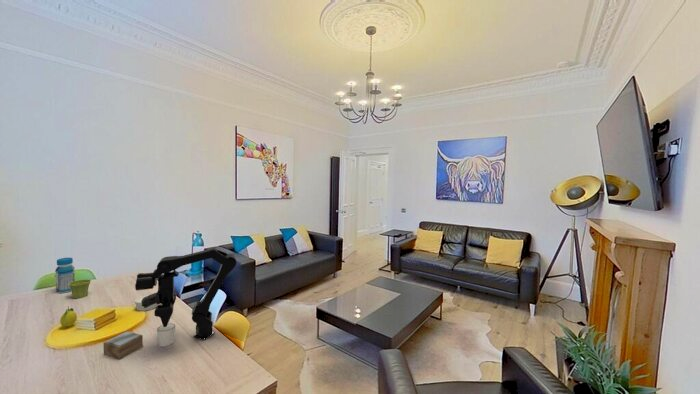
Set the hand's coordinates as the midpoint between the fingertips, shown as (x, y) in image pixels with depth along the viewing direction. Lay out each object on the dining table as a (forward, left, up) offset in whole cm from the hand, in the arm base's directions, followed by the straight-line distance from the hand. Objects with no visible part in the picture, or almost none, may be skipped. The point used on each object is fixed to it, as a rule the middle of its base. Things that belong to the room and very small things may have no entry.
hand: (166, 321), depth 120 cm
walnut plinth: (+11, +10, -9) cm, 18 cm away
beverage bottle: (+104, -19, -10) cm, 106 cm away
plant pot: (+87, -17, -10) cm, 89 cm away
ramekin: (+39, -21, -10) cm, 45 cm away
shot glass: (0, 0, -10) cm, 10 cm away
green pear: (+53, +6, -10) cm, 54 cm away
